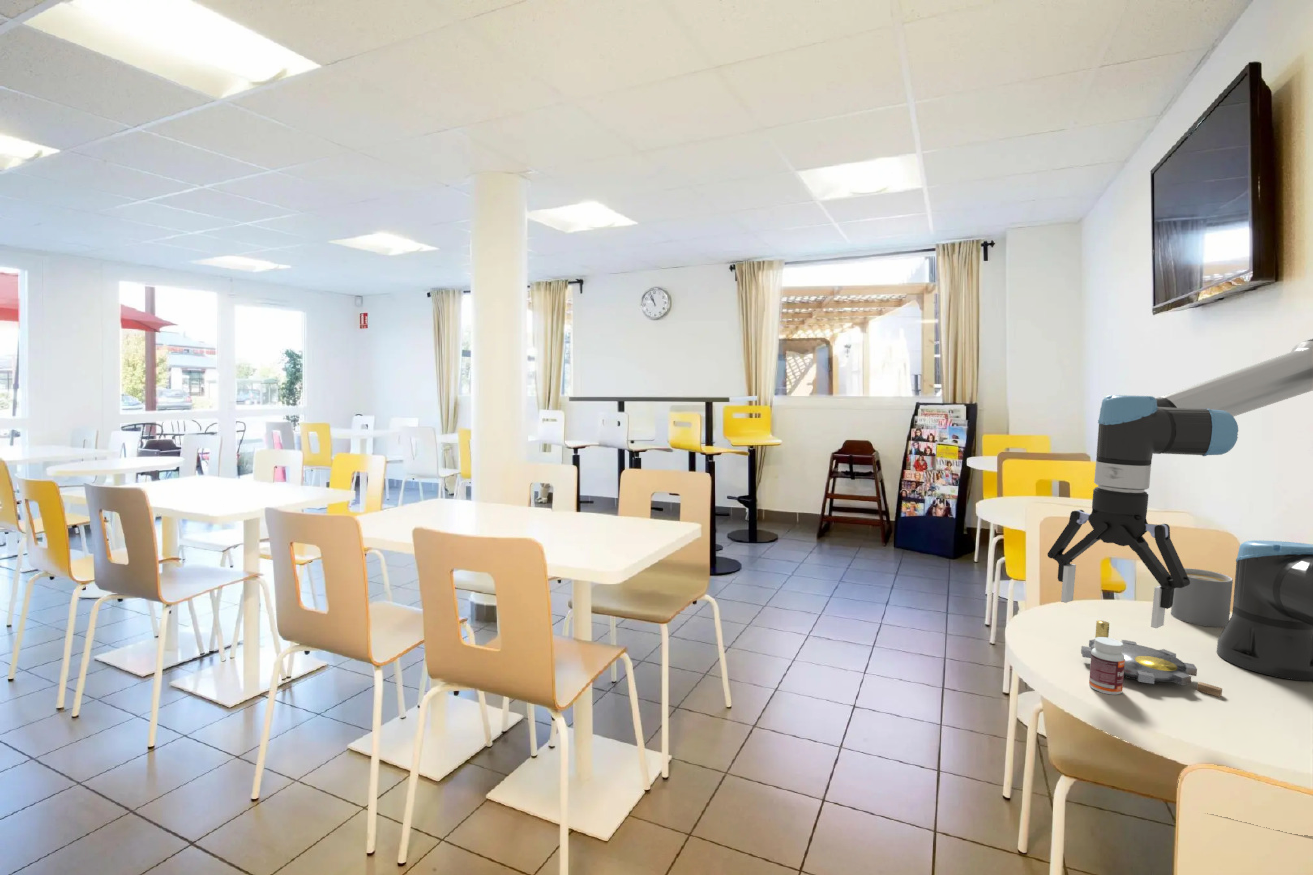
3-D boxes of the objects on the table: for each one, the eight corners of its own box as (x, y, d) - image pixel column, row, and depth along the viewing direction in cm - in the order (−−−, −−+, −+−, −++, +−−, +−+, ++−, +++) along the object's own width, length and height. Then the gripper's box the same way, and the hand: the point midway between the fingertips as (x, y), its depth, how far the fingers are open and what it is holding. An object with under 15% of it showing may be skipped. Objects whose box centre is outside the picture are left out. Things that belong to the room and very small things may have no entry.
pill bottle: (1123, 698, 110) (1127, 648, 109) (1089, 690, 113) (1092, 642, 112) (1121, 686, 114) (1125, 639, 113) (1088, 679, 117) (1091, 633, 116)
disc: (1124, 640, 131) (1127, 609, 130) (1220, 677, 115) (1223, 642, 115) (1060, 651, 126) (1062, 618, 125) (1150, 691, 110) (1153, 654, 109)
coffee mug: (1230, 630, 141) (1234, 584, 140) (1170, 619, 147) (1174, 575, 146) (1225, 613, 151) (1230, 570, 150) (1170, 603, 157) (1174, 562, 156)
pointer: (1197, 690, 113) (1197, 683, 113) (1199, 688, 114) (1199, 681, 114) (1219, 697, 111) (1220, 690, 111) (1221, 695, 112) (1222, 688, 111)
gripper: (1032, 479, 119) (1023, 595, 121) (1204, 503, 98) (1191, 643, 100) (1053, 476, 123) (1044, 588, 125) (1223, 499, 102) (1210, 633, 104)
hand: (1109, 613), depth 112 cm, fingers open, 13 cm apart
